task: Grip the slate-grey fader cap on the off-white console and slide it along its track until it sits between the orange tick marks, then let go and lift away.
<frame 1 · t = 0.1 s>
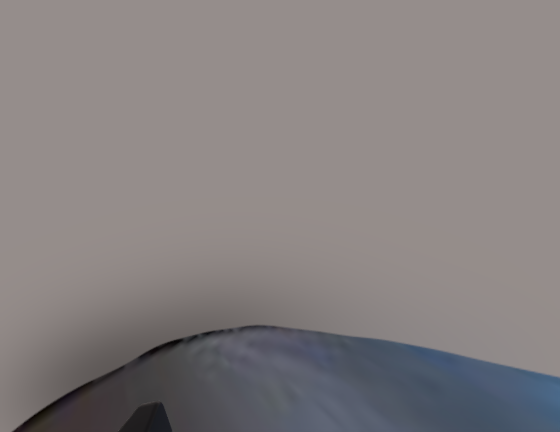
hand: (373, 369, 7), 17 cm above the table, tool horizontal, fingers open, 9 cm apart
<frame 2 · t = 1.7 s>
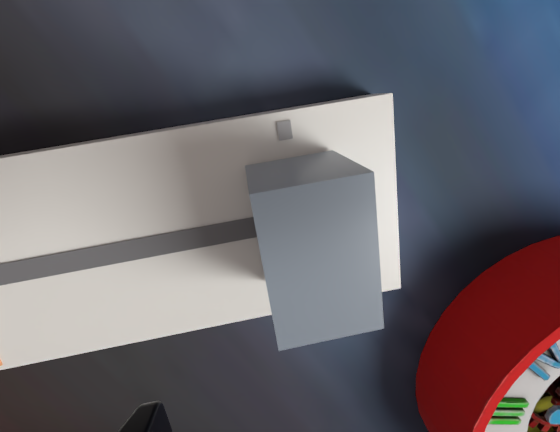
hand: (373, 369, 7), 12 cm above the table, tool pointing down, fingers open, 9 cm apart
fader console: (142, 231, 19), on the table
fader tab: (308, 240, 14), point 5 cm above the table, slide at -8.0 cm
red round tin: (541, 356, 26), on the table
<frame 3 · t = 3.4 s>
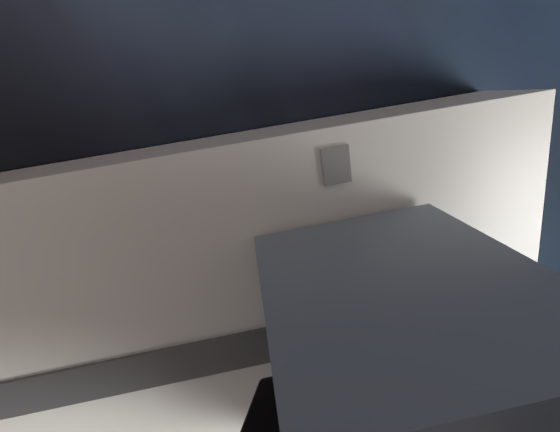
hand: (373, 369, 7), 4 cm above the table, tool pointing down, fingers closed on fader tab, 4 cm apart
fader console: (74, 329, 11), on the table
fader tab: (397, 416, 6), point 5 cm above the table, slide at -8.0 cm, touching gripper
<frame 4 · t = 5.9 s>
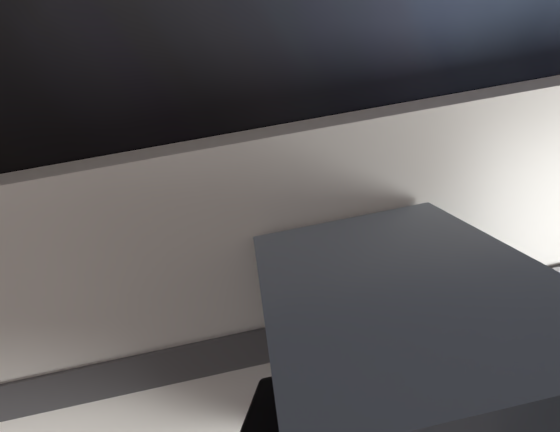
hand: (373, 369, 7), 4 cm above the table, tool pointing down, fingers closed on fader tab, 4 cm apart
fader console: (326, 278, 11), on the table
fader tab: (398, 416, 6), point 5 cm above the table, slide at 0.0 cm, touching gripper
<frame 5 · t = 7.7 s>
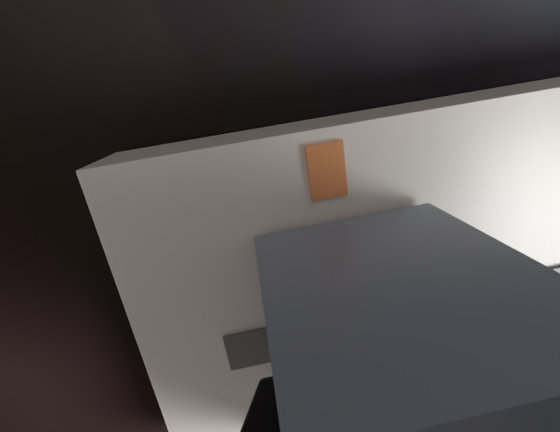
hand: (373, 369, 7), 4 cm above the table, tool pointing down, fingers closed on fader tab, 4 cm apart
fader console: (551, 232, 12), on the table
fader tab: (397, 416, 6), point 5 cm above the table, slide at 7.8 cm, touching gripper
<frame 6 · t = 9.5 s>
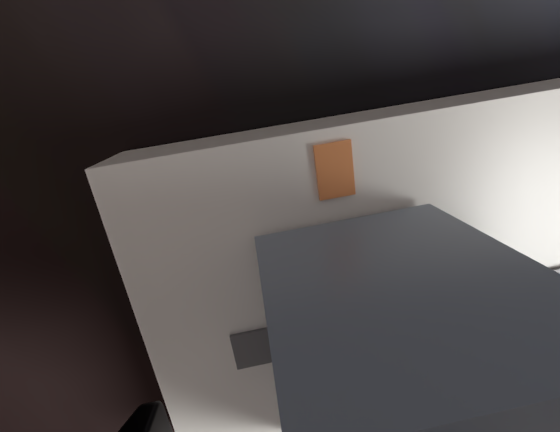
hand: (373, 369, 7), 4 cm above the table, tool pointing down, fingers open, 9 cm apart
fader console: (556, 233, 12), on the table
fader tab: (398, 417, 6), point 5 cm above the table, slide at 8.0 cm
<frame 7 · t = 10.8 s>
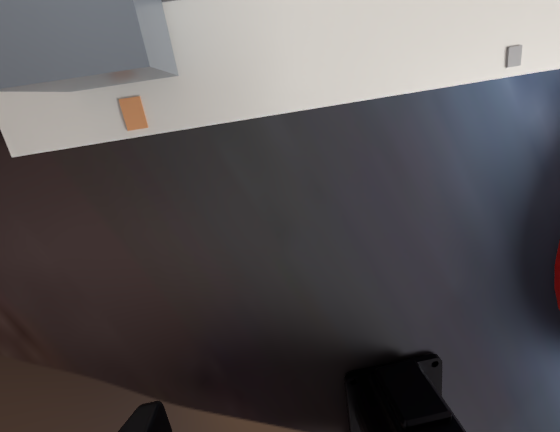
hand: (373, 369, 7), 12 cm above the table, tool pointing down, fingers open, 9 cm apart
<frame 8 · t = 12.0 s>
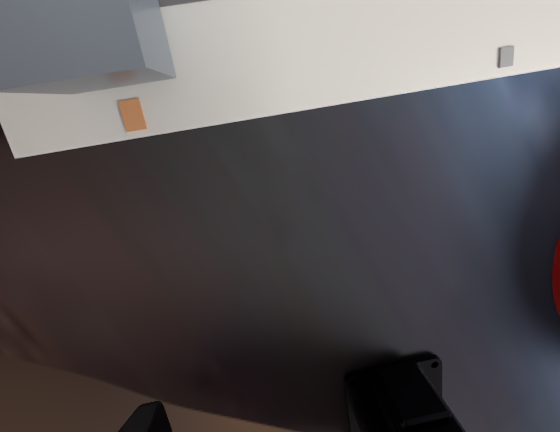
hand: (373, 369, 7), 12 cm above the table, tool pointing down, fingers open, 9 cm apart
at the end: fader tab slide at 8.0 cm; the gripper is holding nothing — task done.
